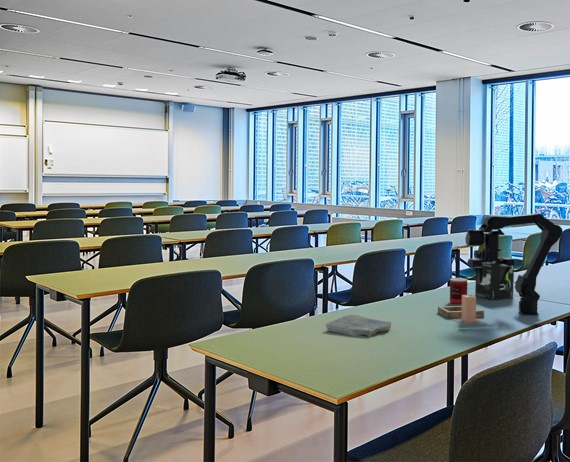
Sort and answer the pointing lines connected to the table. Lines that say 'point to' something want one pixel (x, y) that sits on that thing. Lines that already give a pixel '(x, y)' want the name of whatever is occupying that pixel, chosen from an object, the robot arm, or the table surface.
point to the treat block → (468, 308)
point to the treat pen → (456, 312)
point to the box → (495, 283)
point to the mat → (468, 322)
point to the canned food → (457, 290)
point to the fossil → (358, 326)
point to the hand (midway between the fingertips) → (490, 282)
